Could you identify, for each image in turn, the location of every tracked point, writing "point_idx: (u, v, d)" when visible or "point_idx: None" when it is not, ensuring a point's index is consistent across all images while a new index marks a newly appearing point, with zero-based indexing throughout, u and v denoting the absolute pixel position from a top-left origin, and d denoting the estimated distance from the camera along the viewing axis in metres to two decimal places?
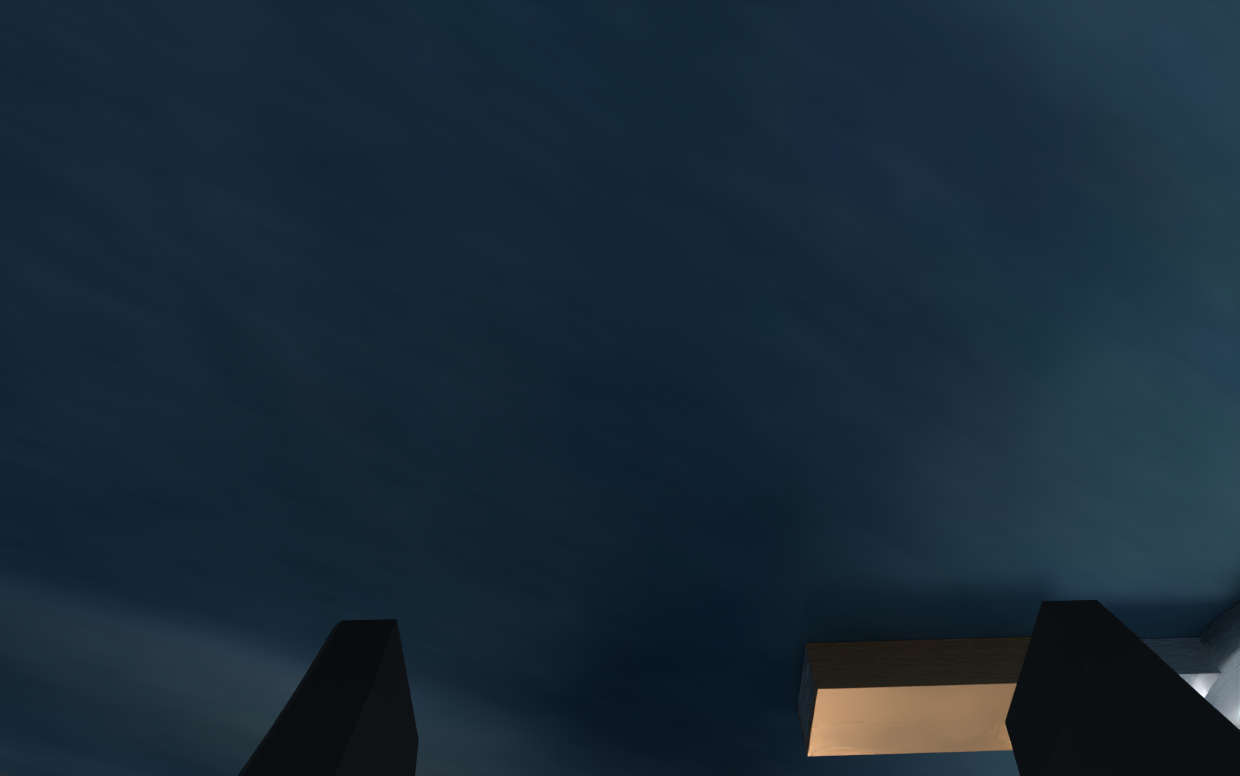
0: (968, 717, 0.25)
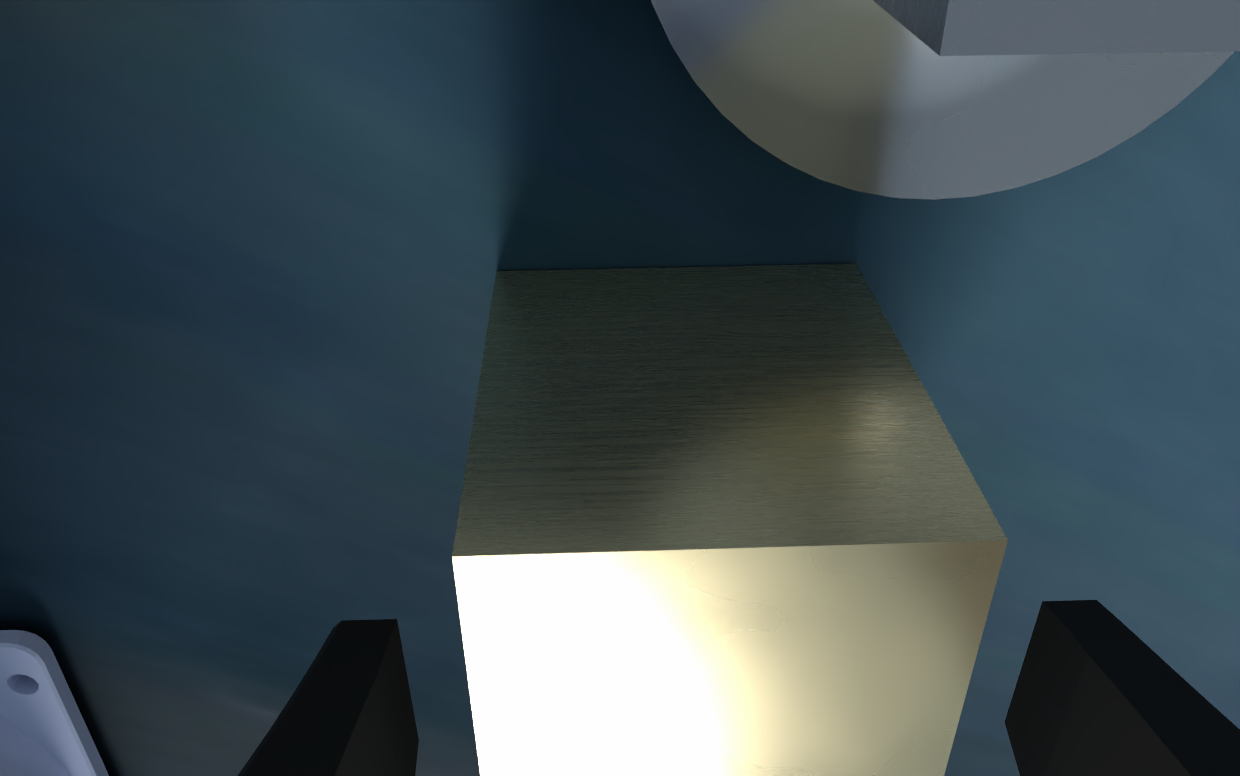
0: None
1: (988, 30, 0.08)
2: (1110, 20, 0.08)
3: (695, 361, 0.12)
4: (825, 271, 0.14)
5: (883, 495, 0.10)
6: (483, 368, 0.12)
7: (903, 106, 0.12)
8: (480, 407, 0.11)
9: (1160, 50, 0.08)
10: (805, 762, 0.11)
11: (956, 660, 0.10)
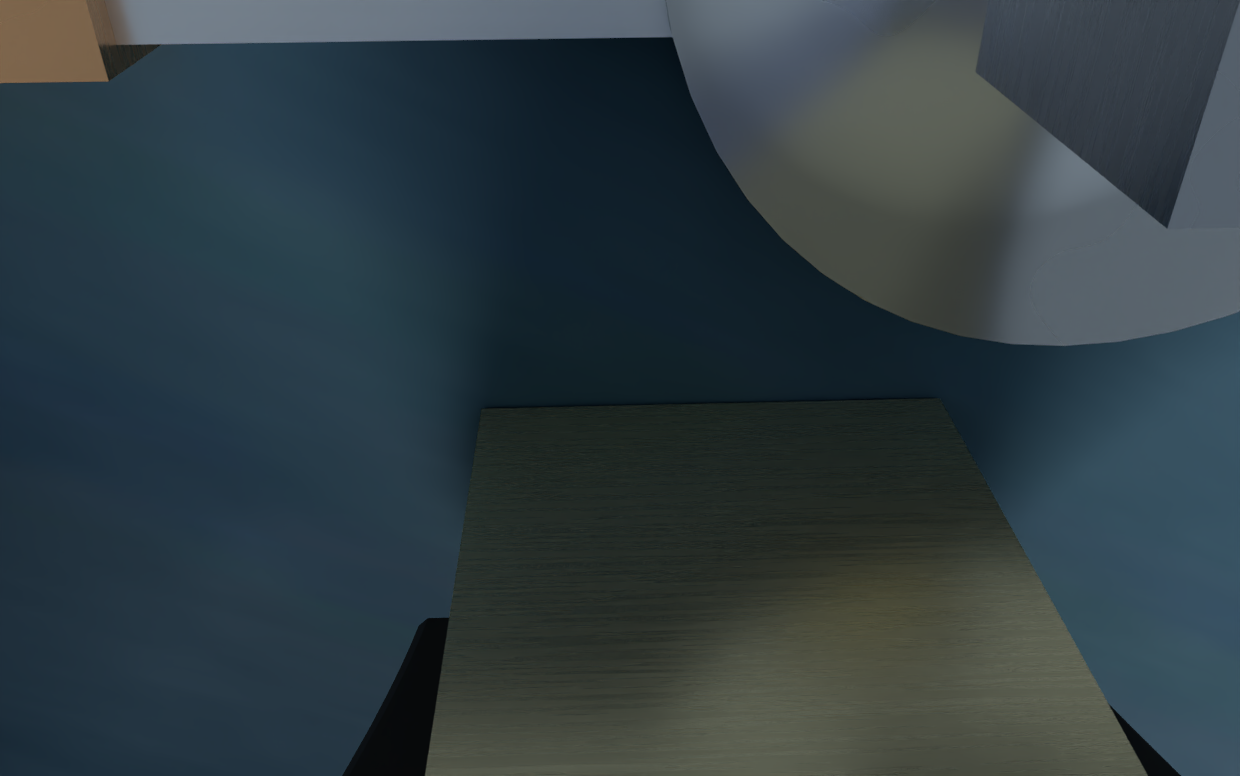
0: None
1: None
2: None
3: (743, 565, 0.09)
4: (901, 411, 0.11)
5: None
6: (459, 575, 0.09)
7: (1032, 230, 0.08)
8: (452, 647, 0.08)
9: None
10: None
11: None
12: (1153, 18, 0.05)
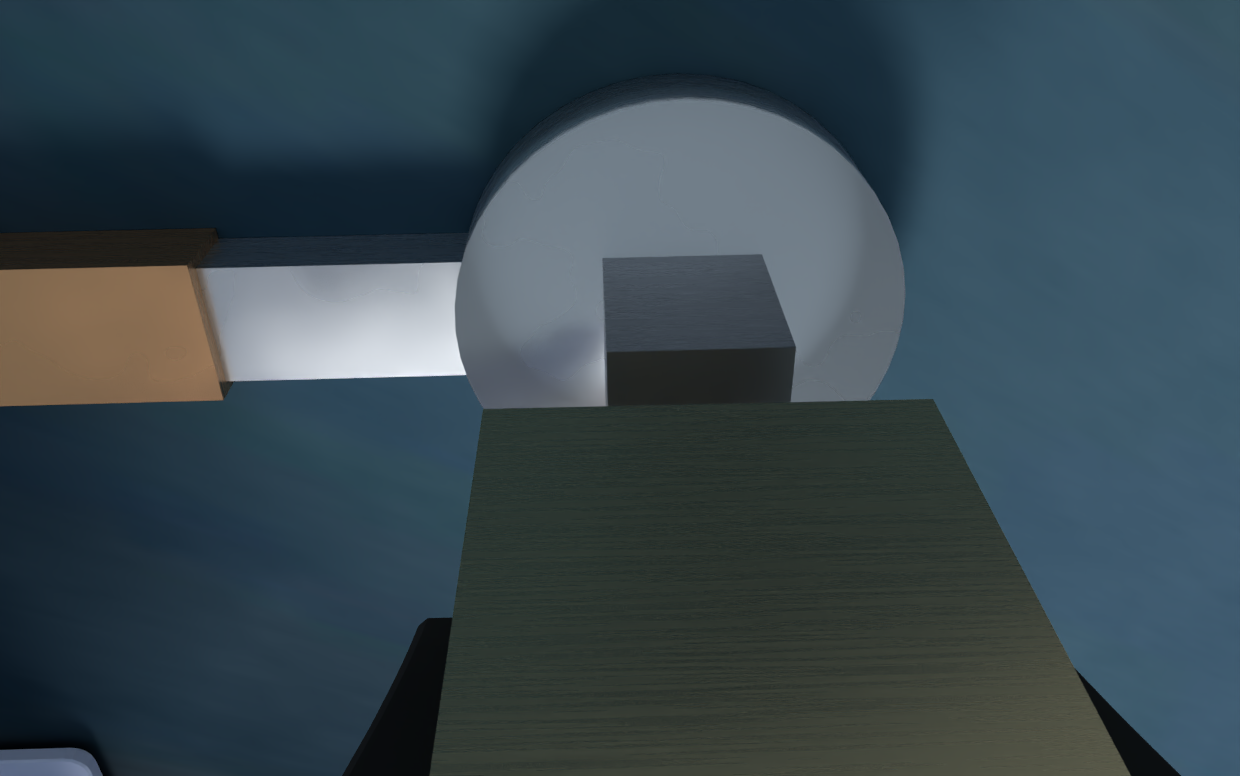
0: (83, 335, 0.17)
1: None
2: None
3: (739, 565, 0.09)
4: (895, 411, 0.11)
5: None
6: (461, 574, 0.09)
7: None
8: (455, 645, 0.08)
9: None
10: None
11: None
12: None
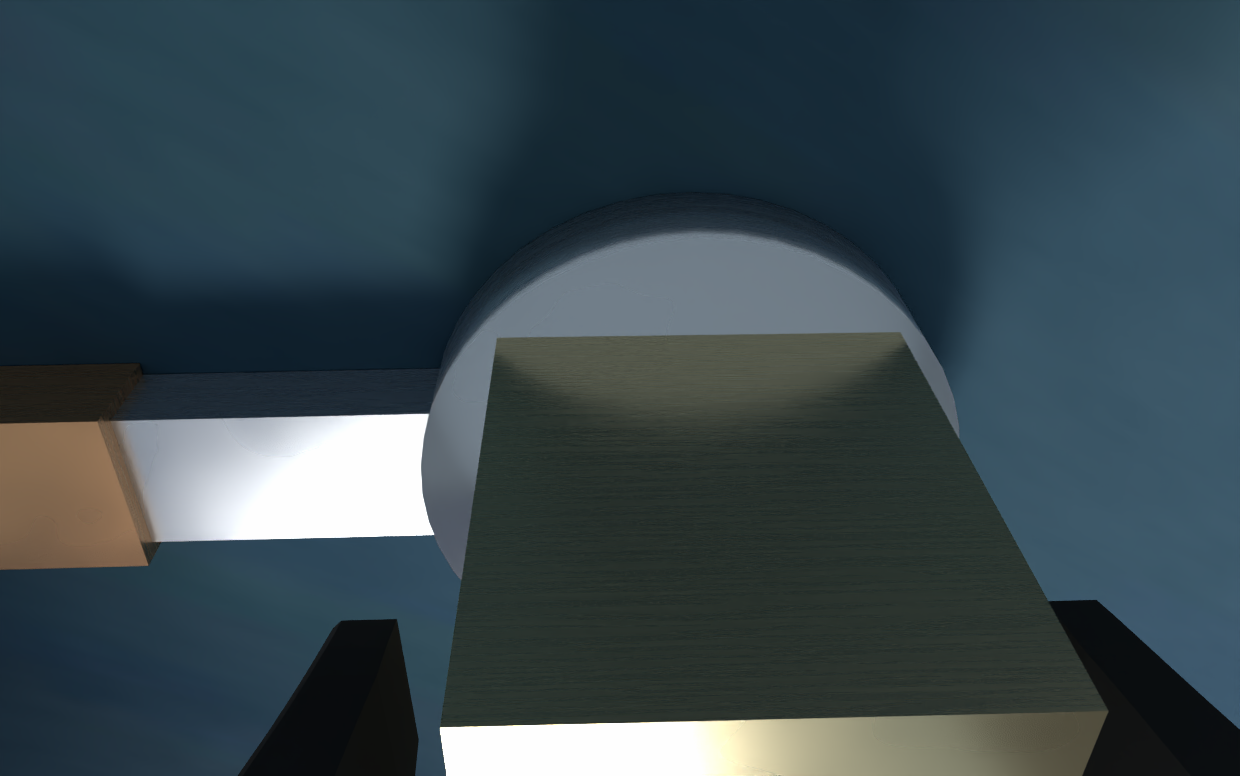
0: None
1: None
2: None
3: (725, 458, 0.10)
4: (866, 341, 0.13)
5: (955, 645, 0.08)
6: (481, 464, 0.10)
7: None
8: (476, 516, 0.10)
9: None
10: None
11: None
12: None
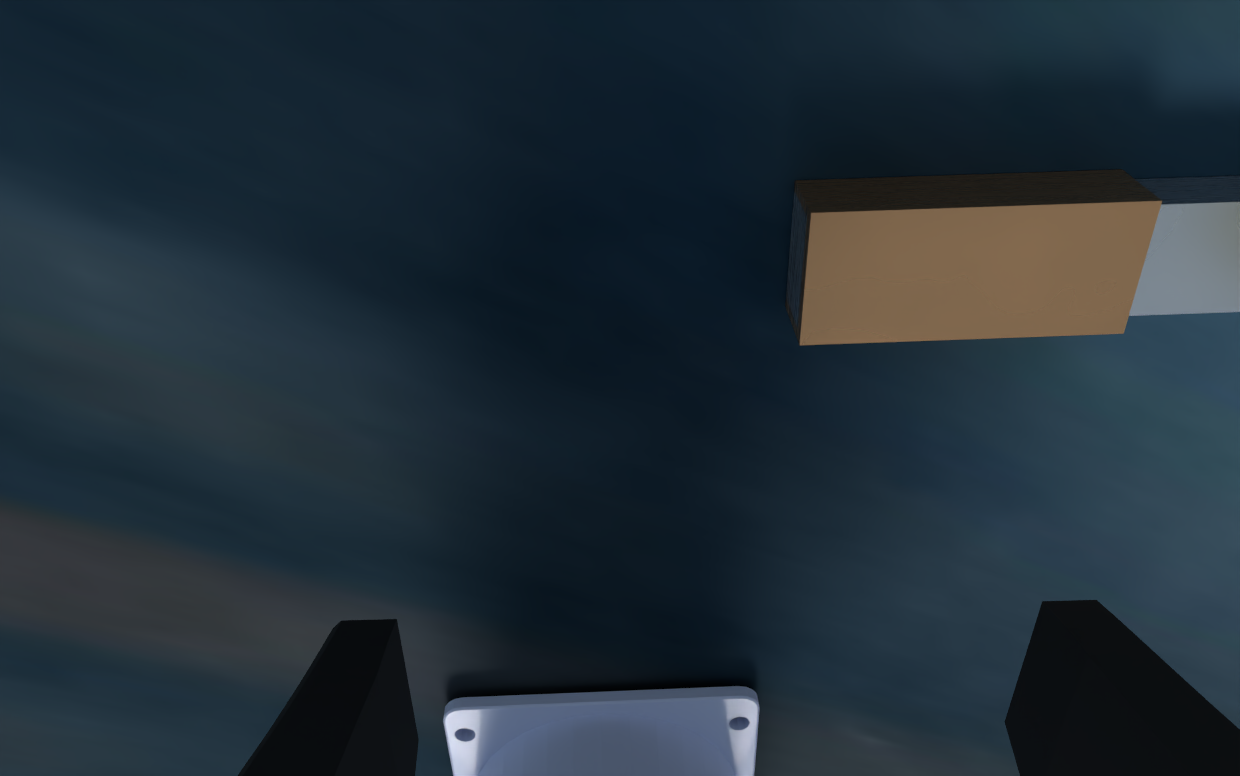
0: (1030, 270, 0.17)
1: None
2: None
3: None
4: None
5: None
6: None
7: None
8: None
9: None
10: None
11: None
12: None
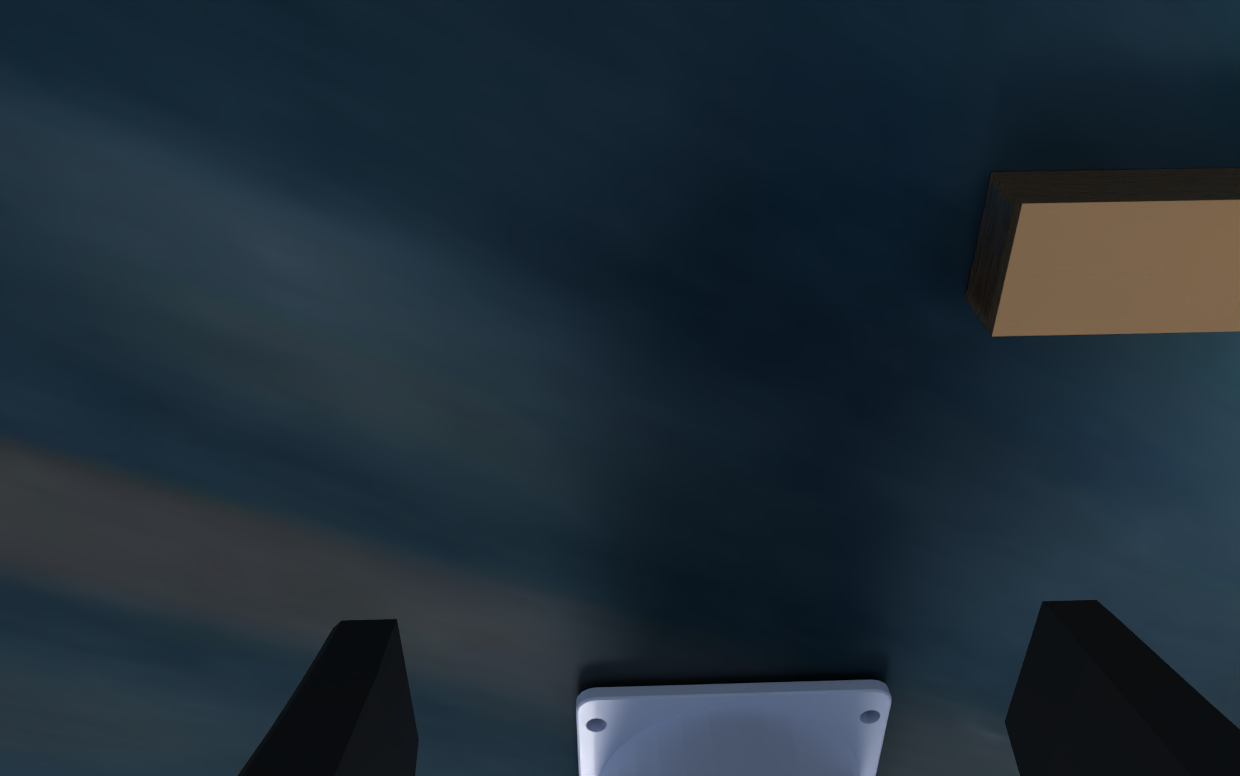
0: (1229, 265, 0.18)
1: None
2: None
3: None
4: None
5: None
6: None
7: None
8: None
9: None
10: None
11: None
12: None
